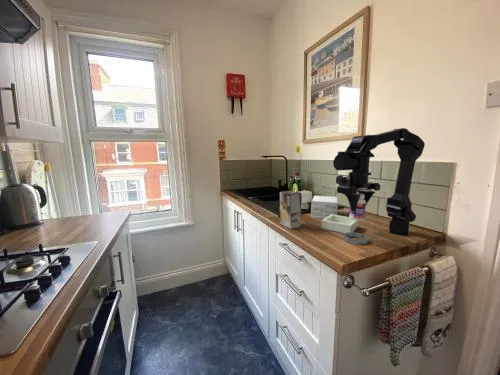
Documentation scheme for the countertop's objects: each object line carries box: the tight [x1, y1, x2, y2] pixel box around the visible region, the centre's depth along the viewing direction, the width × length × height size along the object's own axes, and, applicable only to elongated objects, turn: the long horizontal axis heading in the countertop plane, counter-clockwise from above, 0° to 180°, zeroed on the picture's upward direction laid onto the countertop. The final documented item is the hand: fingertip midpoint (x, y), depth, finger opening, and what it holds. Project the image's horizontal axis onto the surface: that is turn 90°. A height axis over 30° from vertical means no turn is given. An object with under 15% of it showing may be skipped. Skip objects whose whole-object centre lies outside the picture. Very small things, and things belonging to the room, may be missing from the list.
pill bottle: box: [349, 193, 367, 221], centre depth 85 cm, size 5×5×10 cm
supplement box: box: [310, 195, 338, 220], centre depth 122 cm, size 17×13×9 cm
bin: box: [321, 214, 359, 235], centre depth 101 cm, size 12×12×4 cm
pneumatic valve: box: [296, 189, 315, 210], centre depth 134 cm, size 6×12×12 cm, turn 111°
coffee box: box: [279, 190, 302, 230], centre depth 104 cm, size 9×6×16 cm
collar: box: [342, 231, 370, 245], centre depth 87 cm, size 9×9×2 cm
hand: (357, 209), depth 85 cm, fingers closed on pill bottle, 5 cm apart
